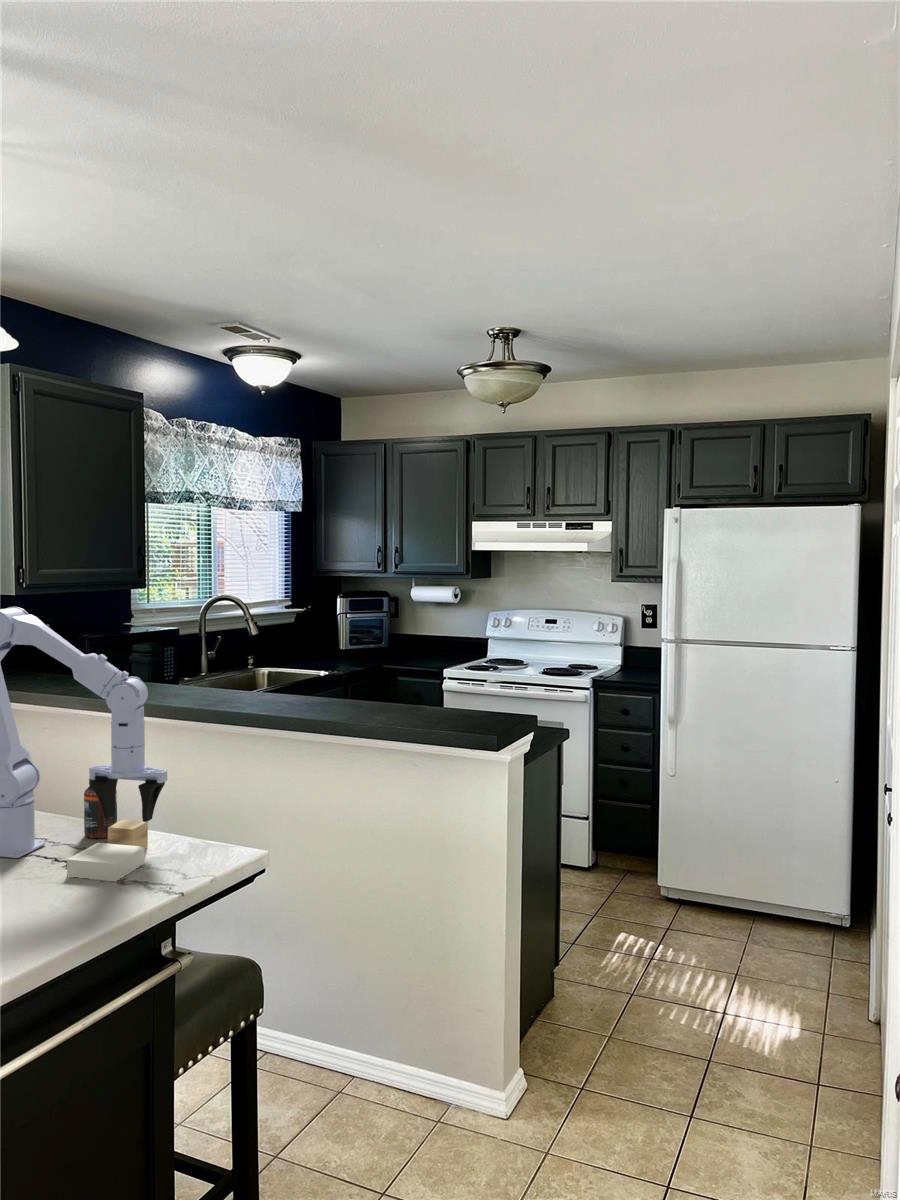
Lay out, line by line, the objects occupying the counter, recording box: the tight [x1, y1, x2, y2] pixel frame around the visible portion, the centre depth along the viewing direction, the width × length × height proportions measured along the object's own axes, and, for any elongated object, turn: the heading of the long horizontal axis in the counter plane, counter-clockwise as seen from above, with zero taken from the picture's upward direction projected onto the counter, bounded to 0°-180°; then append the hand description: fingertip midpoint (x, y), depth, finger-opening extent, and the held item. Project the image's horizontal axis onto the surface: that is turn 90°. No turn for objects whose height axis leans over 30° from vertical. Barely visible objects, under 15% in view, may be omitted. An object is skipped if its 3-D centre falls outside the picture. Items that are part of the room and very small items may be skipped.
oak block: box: [107, 819, 149, 849], centre depth 165 cm, size 5×5×5 cm
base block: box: [66, 842, 146, 883], centre depth 154 cm, size 9×9×3 cm
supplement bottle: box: [83, 778, 118, 839], centre depth 173 cm, size 6×6×11 cm
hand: (128, 818), depth 164 cm, fingers open, 7 cm apart
